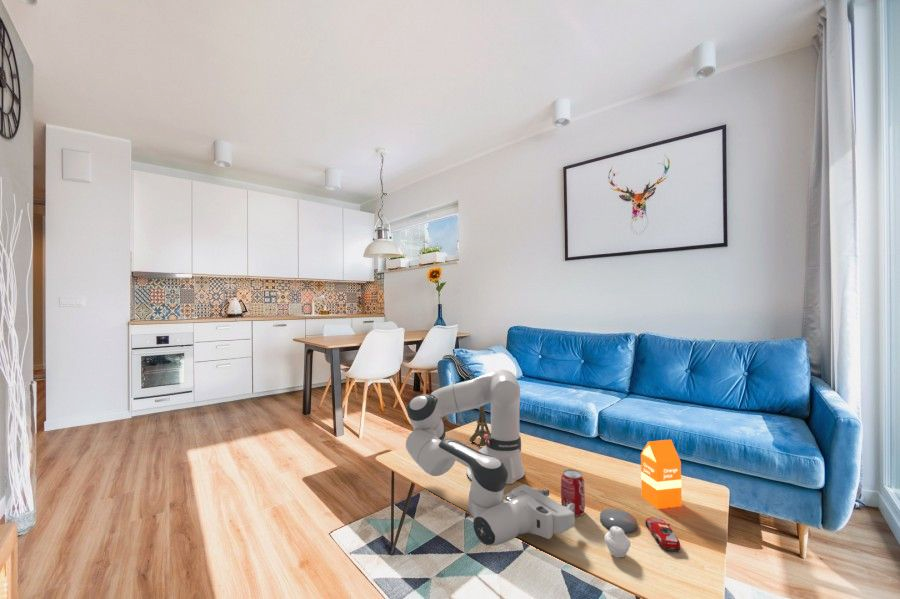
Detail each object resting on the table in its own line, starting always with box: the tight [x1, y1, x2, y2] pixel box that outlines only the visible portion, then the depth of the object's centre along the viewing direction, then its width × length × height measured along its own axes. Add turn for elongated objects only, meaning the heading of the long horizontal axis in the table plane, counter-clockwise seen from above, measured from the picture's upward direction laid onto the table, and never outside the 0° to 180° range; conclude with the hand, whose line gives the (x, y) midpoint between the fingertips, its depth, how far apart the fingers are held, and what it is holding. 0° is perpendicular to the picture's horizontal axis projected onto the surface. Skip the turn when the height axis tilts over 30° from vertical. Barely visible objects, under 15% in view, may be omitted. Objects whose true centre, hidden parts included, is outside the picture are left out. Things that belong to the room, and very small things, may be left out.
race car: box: [645, 516, 681, 552], centre depth 103 cm, size 13×5×4 cm, turn 171°
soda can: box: [560, 469, 586, 517], centre depth 116 cm, size 7×7×12 cm
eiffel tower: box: [468, 405, 491, 446], centre depth 176 cm, size 11×11×25 cm
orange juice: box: [640, 439, 683, 510], centre depth 122 cm, size 8×9×20 cm
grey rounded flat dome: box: [599, 508, 638, 535], centre depth 110 cm, size 10×10×2 cm
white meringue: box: [604, 526, 631, 558], centre depth 97 cm, size 6×6×7 cm
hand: (559, 498), depth 112 cm, fingers open, 8 cm apart
